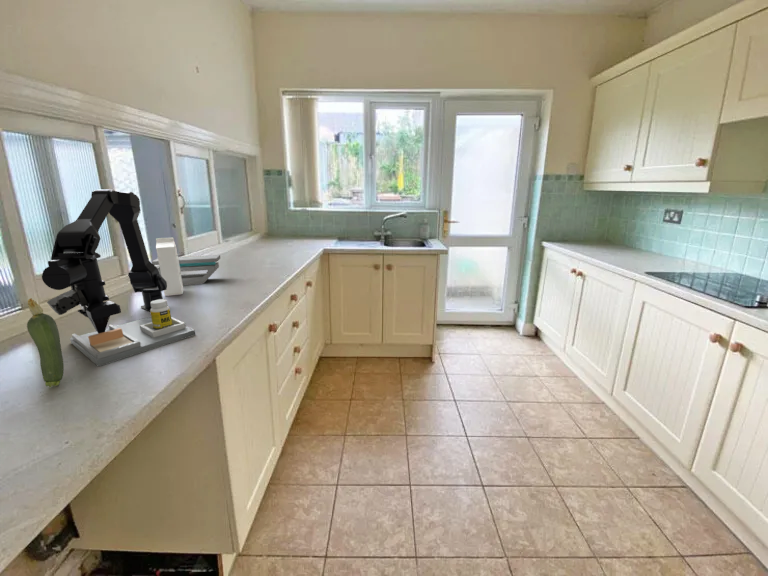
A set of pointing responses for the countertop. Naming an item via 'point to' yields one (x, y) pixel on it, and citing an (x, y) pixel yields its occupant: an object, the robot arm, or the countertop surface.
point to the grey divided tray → (133, 339)
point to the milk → (169, 265)
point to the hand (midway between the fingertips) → (101, 334)
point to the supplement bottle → (160, 314)
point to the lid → (108, 340)
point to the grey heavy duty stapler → (195, 267)
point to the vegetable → (46, 344)
